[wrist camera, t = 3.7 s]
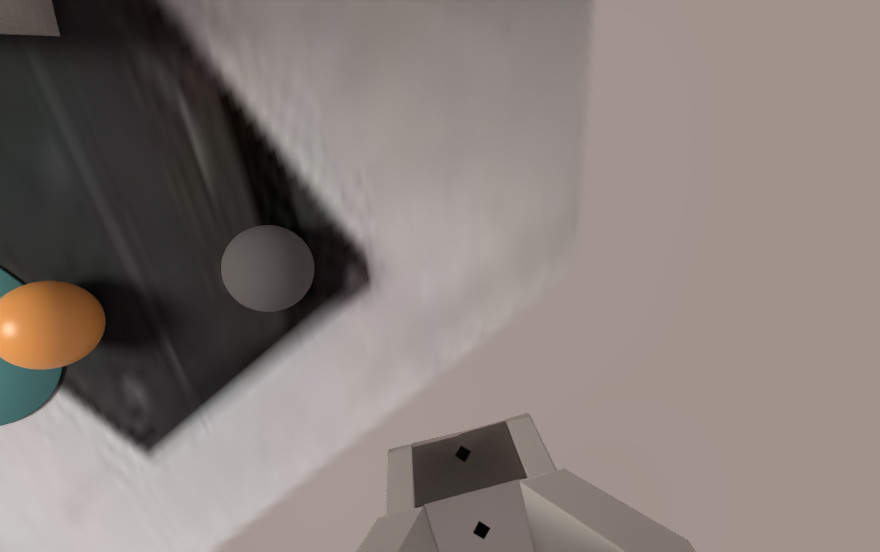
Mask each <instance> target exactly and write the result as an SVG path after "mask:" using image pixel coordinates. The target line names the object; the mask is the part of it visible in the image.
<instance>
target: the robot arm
mask: <svg viewBox="0 0 880 552" xmlns="http://www.w3.org/2000/svg"><path fill="white" fill-rule="evenodd" d="M356 552H696V551H695V549H694V548H693V547H692V545H691V544H690V542H689V541H688V540H686V539H685V538H683V537H681V536H680V535H678V534H676V533H674V532H673V531H671V530H669V529H667V528H666V527H664V526H662V525H661V524H659V523H657V522H656V521H654V520H651V519H650V518H649V517H647V516H645V515H643V514H642V513H640V512H638V511H637V510H635V509H633V508H631V507H630V506H628V505H626V504H625V503H623V502H621V501H619V500H618V499H616V498H614V497H612V496H611V495H609V494H607V493H605V492H604V491H602V490H600V489H599V488H597V487H595V486H593V485H592V484H590V483H588V482H587V481H585V480H583V479H581V478H580V477H578V476H576V475H575V474H573V473H571V472H569V471H568V470H566V469H561V470H556V468H555V466H554V463H553V461H552V459H551V457H550V455H549V453H548V451H547V449H546V447H545V445H544V443H543V441H542V439H541V437H540V435H539V433H538V431H537V429H536V427H535V425H534V423H533V420H532V418H531V416H530V415H529V414H527V413H526V414H522V415H518V416H515V417H511V418H508V419H505V421H499V422H496V423H492V424H488V425H485V426H481V427H477V428H473V429H470V430H466V431H463V432H458V433H454V434H450V435H446V436H441V437H437V438H433V439H429V440H424V441H420V442H416V443H413V444H409V445H405V446H401V447H397V448H393V449H389V451H388V453H387V470H386V514H385V516H384V517H380V518H378V519H377V520H376V522H375V523H374V525H373V526H372V528H371V530H370V531H369V533H368V534H367V536H366V537H365V539H364V540H363V542H362V543H361V545H360V546H359V548H358V549H357V551H356Z"/></svg>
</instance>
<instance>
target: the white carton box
mask: <svg viewBox="0 0 880 552" xmlns="http://www.w3.org/2000/svg"><path fill="white" fill-rule="evenodd" d="M0 34H14V35H40V36H60V33H59V29H58V25H57V21H56V17H55V13H54V9H53V4H52V0H0Z"/></svg>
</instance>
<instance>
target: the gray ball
mask: <svg viewBox="0 0 880 552" xmlns="http://www.w3.org/2000/svg"><path fill="white" fill-rule="evenodd" d="M221 274H222V279H223V282H224V284H225V286H226V288H227V290H228V291H229V293H230V294H231V295H232V296H233V298H234V299H236V300H237V301H238V302H239V303H241V304H242V305H244V306H246V307H248V308H251V309H254V310H257V311H264V312H272V311H279V310H282V309H286V308H288V307H290V306H292V305H294V304H295V303H297V302H298V301H299V300H300V299H302V298H303V296H304V295H305V294H306V293H307V291H308V290H309V288H310V286H311V284H312V281H313V277H314V260H313V256H312V254H311V251H310V249H309V248H308V246H307V245H306V243H305V242H304V241H303V240H302V239H301V238H300V237H299V236H298V235H296V234H295V233H293V232H292V231H290V230H288V229H286V228H282V227H279V226H273V225H262V226H256V227H253V228H250V229H247V230H245V231H243V232H242V233H240V234H239V235H237V236H236V237H235V238H234V239H233V240H232V241H231V242H230V244H229V245H228V246H227V248H226V250H225V252H224V255H223V258H222V263H221Z"/></svg>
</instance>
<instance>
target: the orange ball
mask: <svg viewBox="0 0 880 552" xmlns="http://www.w3.org/2000/svg"><path fill="white" fill-rule="evenodd" d="M105 324H106V319H105V314H104V310H103V308H102V306H101V304H100V303H99V301H98V300H97V299H96V298H95V297H94V296H93V295H92V294H91V293H90V292H88V291H87V290H85V289H83V288H81V287H79V286H76V285H74V284H71V283H67V282H60V281H39V282H34V283H29V284H26V285H23V286H20V287H18V288H16V289H14V290H12V291H10V292H8V293H7V294H5V295H4V296H3V297H1V298H0V357H1V358H2V359H4V360H5V361H7V362H9V363H11V364H13V365H16V366H19V367H23V368H27V369H37V370H45V369H54V368H59V367H63V366H66V365H69V364H72V363H74V362H76V361H78V360H80V359H81V358H83V357H85V356H86V355H87V354H89V353H90V352H91V351H92V350H93V349H94V348H95V347H96V345H97V344H98V343H99V342H100V340H101V338H102V336H103V333H104V330H105Z"/></svg>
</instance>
